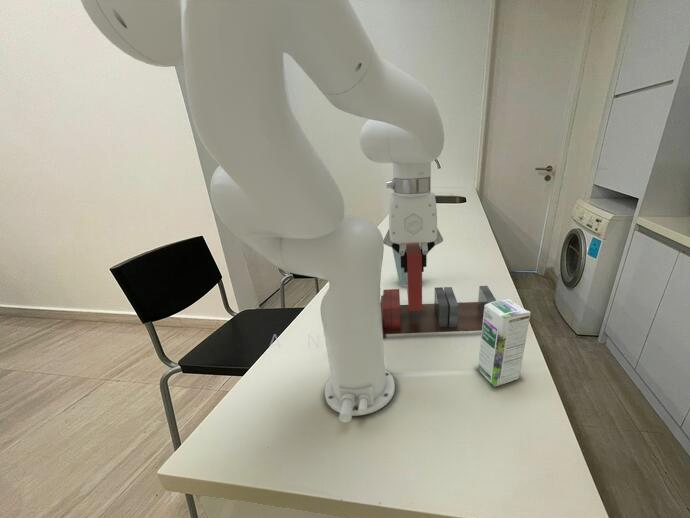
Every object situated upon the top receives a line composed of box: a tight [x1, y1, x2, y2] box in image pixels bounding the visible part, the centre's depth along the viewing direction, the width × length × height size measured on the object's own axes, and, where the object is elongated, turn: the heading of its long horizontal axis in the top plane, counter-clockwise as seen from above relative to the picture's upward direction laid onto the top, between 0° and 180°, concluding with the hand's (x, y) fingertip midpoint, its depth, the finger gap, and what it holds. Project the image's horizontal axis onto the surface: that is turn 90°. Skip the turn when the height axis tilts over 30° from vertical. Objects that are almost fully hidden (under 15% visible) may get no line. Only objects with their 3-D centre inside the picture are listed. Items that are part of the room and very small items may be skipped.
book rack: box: [380, 285, 497, 339], centre depth 80 cm, size 14×28×7 cm, turn 91°
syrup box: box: [477, 298, 531, 388], centre depth 60 cm, size 6×6×14 cm
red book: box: [406, 243, 423, 311], centre depth 76 cm, size 11×3×13 cm, turn 1°
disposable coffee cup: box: [391, 243, 422, 286], centre depth 99 cm, size 11×11×15 cm
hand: (413, 269), depth 76 cm, fingers closed on red book, 3 cm apart
